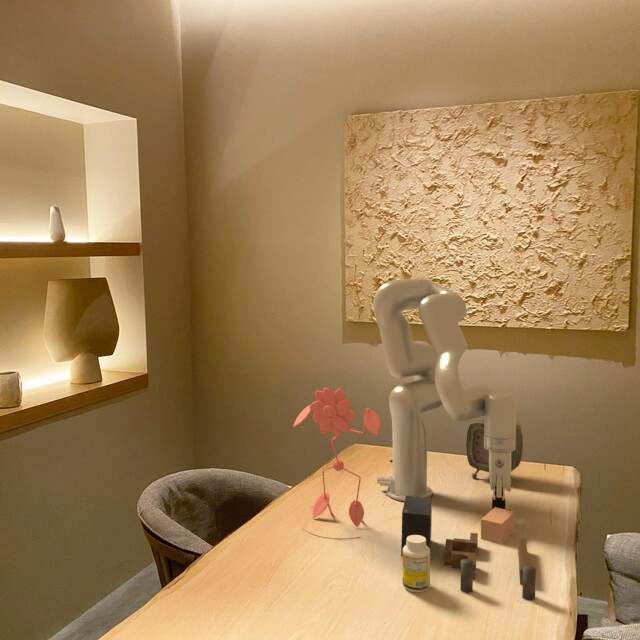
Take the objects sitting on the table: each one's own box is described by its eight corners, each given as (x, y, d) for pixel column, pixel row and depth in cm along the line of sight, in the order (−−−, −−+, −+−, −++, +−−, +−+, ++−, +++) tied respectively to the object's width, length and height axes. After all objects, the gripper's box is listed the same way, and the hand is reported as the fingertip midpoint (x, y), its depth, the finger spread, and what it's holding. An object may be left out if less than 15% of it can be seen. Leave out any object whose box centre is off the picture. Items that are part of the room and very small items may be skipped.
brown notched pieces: (439, 589, 138) (439, 561, 138) (447, 543, 160) (447, 518, 159) (535, 601, 134) (536, 571, 133) (530, 552, 155) (531, 526, 154)
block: (480, 539, 162) (481, 519, 162) (494, 526, 170) (494, 507, 169) (501, 544, 159) (501, 524, 159) (514, 531, 167) (514, 511, 166)
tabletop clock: (465, 479, 204) (467, 396, 201) (477, 470, 211) (478, 391, 208) (513, 488, 195) (515, 402, 193) (524, 479, 203) (526, 396, 200)
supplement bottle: (411, 577, 144) (412, 530, 143) (435, 585, 140) (435, 537, 139) (397, 587, 139) (397, 539, 138) (420, 596, 136) (420, 547, 135)
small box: (430, 559, 152) (430, 514, 151) (400, 557, 153) (400, 512, 152) (432, 539, 162) (432, 497, 161) (404, 537, 163) (404, 495, 162)
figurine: (306, 504, 184) (303, 377, 180) (392, 526, 170) (391, 387, 166) (271, 525, 172) (267, 389, 167) (361, 550, 157) (359, 401, 153)
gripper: (516, 451, 161) (514, 527, 163) (514, 435, 176) (513, 504, 177) (483, 450, 163) (482, 524, 165) (484, 433, 177) (483, 502, 179)
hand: (498, 513), depth 171 cm, fingers closed
